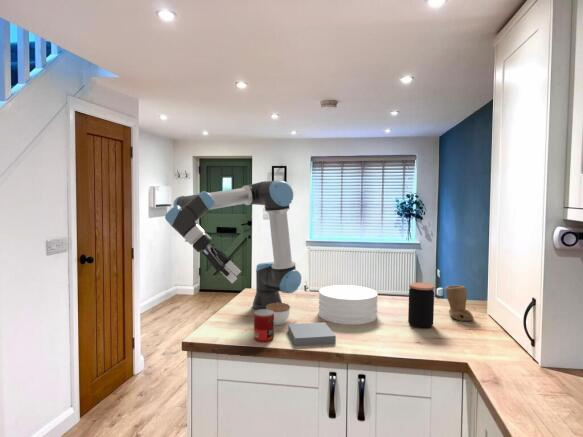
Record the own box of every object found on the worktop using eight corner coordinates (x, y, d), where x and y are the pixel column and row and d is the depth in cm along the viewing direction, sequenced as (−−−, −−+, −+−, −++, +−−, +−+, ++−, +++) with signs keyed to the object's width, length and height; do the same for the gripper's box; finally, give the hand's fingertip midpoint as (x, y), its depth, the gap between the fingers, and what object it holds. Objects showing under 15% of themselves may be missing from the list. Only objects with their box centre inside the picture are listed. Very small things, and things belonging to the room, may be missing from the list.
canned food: (271, 343, 143) (271, 315, 142) (251, 341, 145) (251, 313, 144) (276, 336, 150) (276, 309, 150) (257, 334, 152) (257, 308, 151)
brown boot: (443, 311, 187) (444, 281, 186) (469, 313, 183) (470, 283, 182) (445, 320, 172) (446, 288, 172) (473, 323, 168) (475, 290, 168)
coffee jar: (434, 323, 168) (435, 284, 167) (432, 330, 158) (433, 289, 158) (409, 319, 173) (410, 281, 172) (406, 326, 163) (407, 286, 162)
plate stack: (359, 304, 197) (359, 283, 196) (388, 321, 171) (389, 296, 170) (310, 309, 188) (310, 287, 188) (333, 327, 162) (333, 301, 161)
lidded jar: (292, 320, 170) (293, 300, 169) (284, 328, 160) (285, 306, 159) (271, 317, 173) (271, 298, 173) (262, 325, 163) (262, 304, 163)
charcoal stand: (288, 331, 156) (288, 324, 156) (324, 329, 159) (325, 322, 159) (295, 345, 141) (295, 338, 140) (335, 343, 143) (335, 335, 143)
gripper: (198, 242, 157) (233, 277, 158) (183, 250, 132) (225, 291, 133) (211, 229, 157) (246, 265, 158) (198, 235, 132) (240, 277, 133)
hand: (236, 277), depth 146 cm, fingers open, 13 cm apart
